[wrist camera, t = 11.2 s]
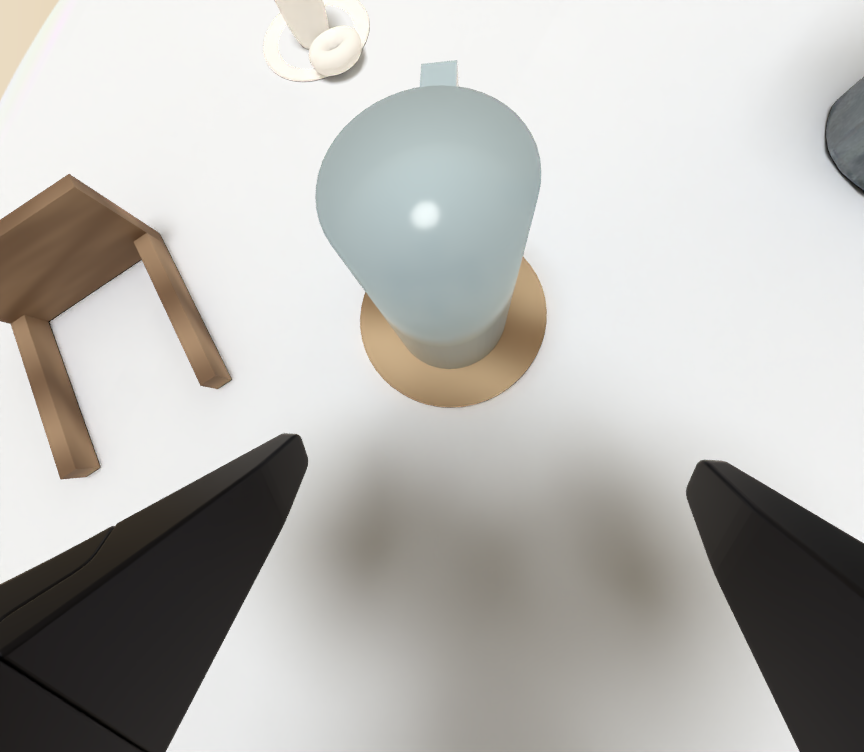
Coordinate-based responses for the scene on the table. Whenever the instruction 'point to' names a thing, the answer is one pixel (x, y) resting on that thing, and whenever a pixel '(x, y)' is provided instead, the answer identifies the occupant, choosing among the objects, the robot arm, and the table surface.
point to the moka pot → (848, 133)
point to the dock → (72, 281)
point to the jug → (434, 212)
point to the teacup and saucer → (317, 38)
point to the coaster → (471, 380)
